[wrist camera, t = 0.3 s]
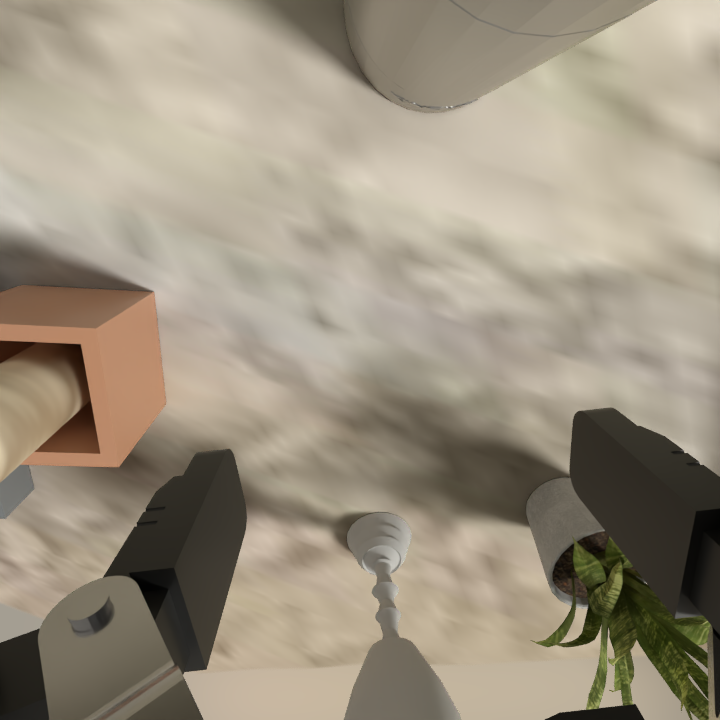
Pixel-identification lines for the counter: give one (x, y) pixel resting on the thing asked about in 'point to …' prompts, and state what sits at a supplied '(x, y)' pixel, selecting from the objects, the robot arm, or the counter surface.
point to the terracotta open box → (93, 365)
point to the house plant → (613, 600)
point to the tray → (15, 489)
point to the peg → (38, 398)
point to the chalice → (392, 636)
